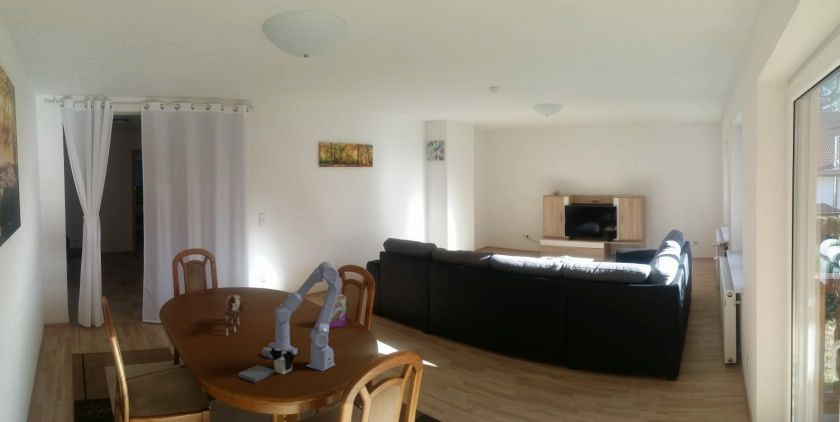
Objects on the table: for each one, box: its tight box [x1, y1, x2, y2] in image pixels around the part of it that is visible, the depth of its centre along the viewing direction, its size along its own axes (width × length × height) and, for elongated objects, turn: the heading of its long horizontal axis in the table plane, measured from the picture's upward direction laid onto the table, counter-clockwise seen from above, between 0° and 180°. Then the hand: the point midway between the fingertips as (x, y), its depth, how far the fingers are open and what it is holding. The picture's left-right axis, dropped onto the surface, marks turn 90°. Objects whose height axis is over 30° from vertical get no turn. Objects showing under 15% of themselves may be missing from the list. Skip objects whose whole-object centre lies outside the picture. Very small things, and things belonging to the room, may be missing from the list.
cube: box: [273, 356, 293, 375], centre depth 214 cm, size 5×5×5 cm
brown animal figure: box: [223, 294, 247, 337], centre depth 266 cm, size 31×8×21 cm, turn 10°
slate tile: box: [237, 364, 275, 383], centre depth 209 cm, size 10×10×2 cm
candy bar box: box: [323, 293, 347, 329], centre depth 271 cm, size 11×5×16 cm, turn 120°
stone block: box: [261, 346, 287, 360], centre depth 232 cm, size 12×5×10 cm
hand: (283, 367), depth 214 cm, fingers open, 5 cm apart
